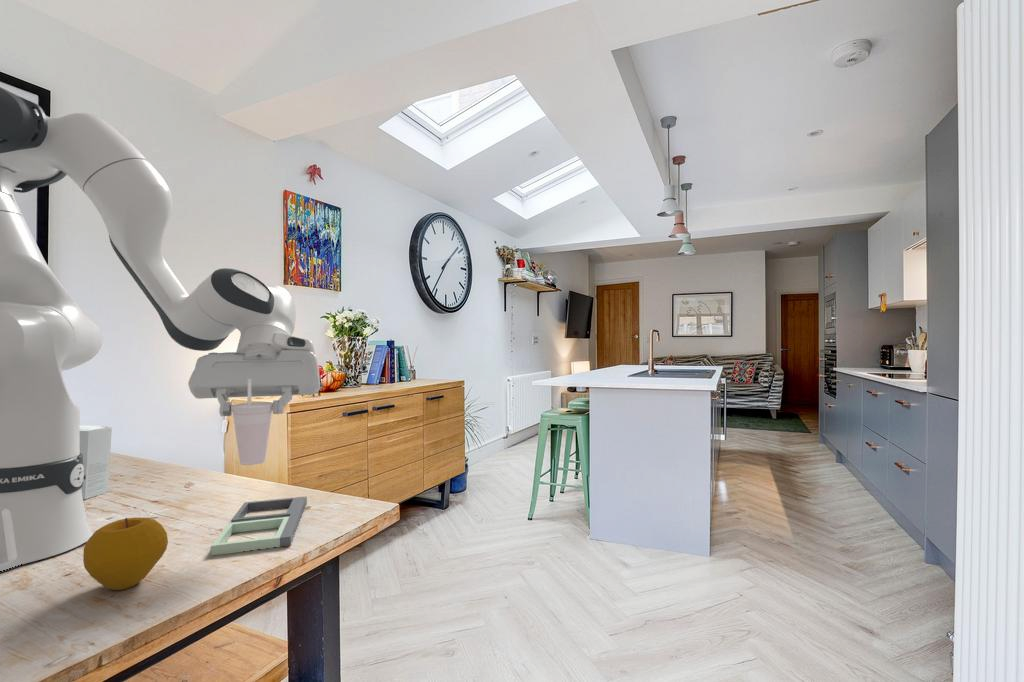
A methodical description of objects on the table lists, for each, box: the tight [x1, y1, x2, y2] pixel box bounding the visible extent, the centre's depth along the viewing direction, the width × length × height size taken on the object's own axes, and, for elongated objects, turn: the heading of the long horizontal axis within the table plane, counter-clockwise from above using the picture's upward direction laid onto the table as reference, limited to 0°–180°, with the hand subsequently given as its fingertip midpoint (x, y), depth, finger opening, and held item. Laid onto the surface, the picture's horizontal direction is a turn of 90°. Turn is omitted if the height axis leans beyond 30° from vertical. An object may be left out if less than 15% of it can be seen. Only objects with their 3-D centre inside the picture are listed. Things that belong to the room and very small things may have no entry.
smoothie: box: [230, 379, 273, 466], centre depth 78 cm, size 6×6×14 cm
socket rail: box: [210, 496, 308, 557], centre depth 83 cm, size 11×21×2 cm, turn 17°
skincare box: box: [80, 425, 113, 501], centre depth 101 cm, size 8×6×15 cm
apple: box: [82, 517, 169, 591], centre depth 63 cm, size 9×9×9 cm
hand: (251, 413), depth 77 cm, fingers closed on smoothie, 6 cm apart
